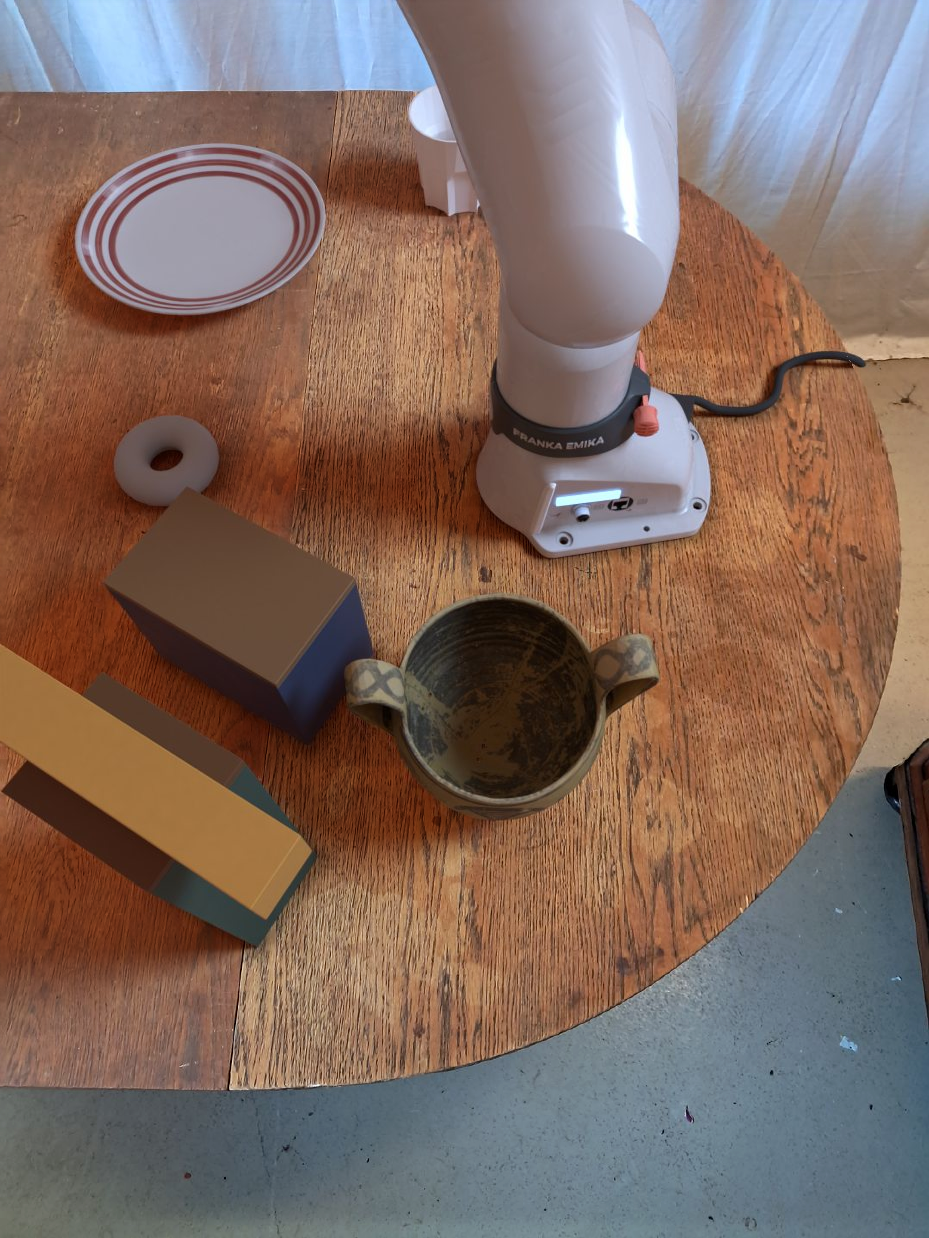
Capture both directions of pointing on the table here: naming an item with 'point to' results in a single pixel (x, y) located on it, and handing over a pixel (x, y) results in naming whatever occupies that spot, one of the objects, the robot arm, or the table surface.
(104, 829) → the brown-topped teal block
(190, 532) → the brown-topped navy block
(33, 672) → the yellow ochre bar
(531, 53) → the robot arm
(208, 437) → the donut
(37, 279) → the table surface
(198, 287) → the dinner plate
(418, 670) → the ceramic bowl
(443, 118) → the cup
